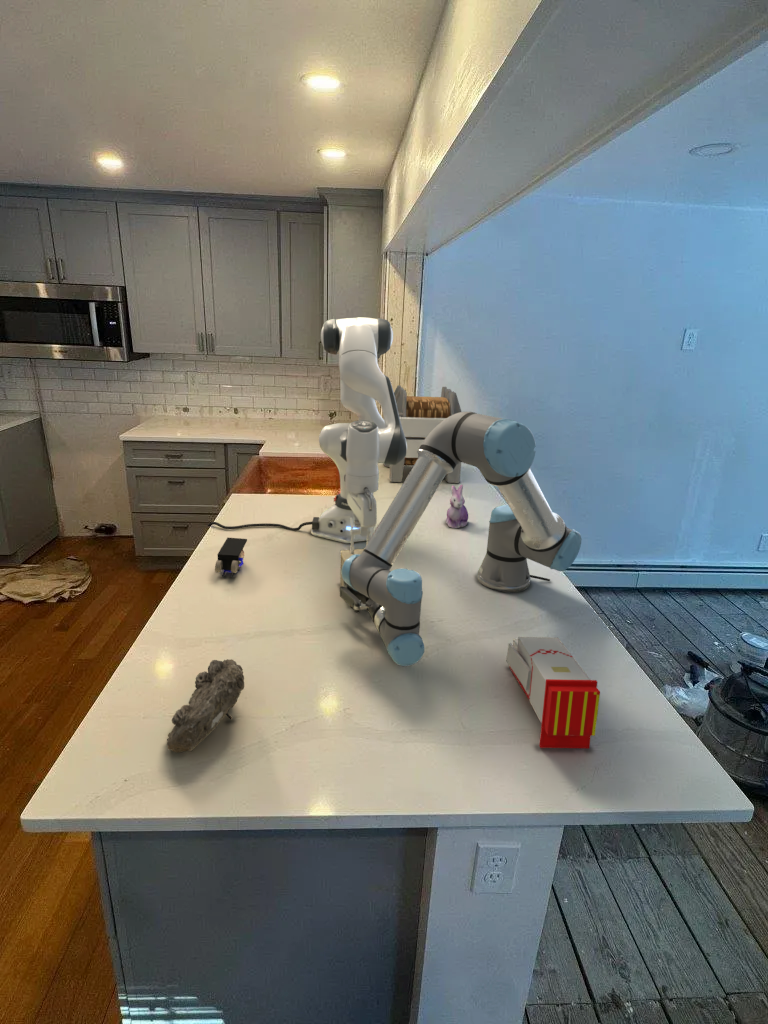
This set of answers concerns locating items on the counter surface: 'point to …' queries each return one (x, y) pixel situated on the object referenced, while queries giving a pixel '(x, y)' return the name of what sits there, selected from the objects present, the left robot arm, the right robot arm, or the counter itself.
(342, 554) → the lid
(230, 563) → the figurine character
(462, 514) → the figurine
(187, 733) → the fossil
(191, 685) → the counter surface
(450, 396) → the grey boxy piece
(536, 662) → the toy
